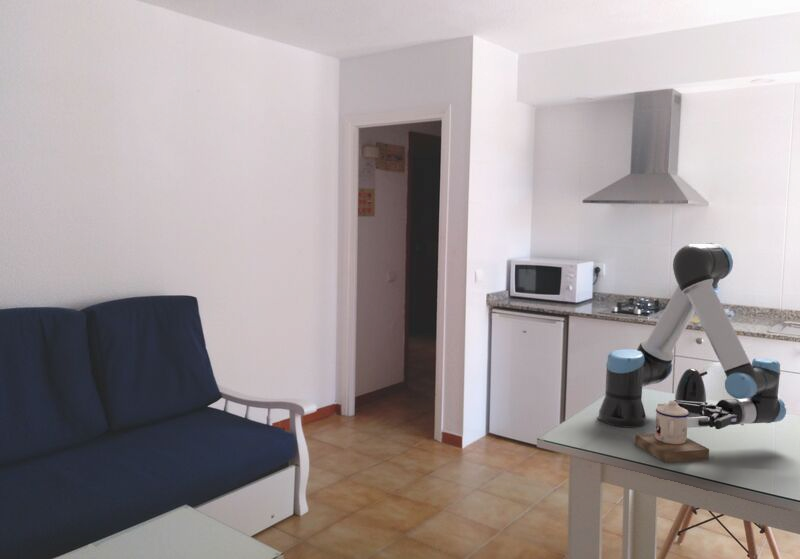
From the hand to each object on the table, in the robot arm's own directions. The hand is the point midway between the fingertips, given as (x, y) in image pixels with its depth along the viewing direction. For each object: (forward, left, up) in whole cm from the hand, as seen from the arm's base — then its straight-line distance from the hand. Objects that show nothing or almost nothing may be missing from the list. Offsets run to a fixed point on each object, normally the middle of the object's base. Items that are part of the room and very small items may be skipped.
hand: (672, 415), depth 193 cm
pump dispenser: (-35, +34, -11) cm, 50 cm away
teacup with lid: (-1, 0, -8) cm, 8 cm away
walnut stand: (0, +1, -11) cm, 11 cm away
